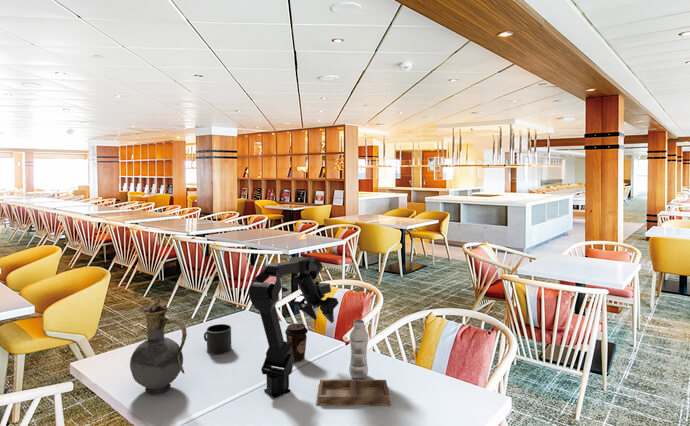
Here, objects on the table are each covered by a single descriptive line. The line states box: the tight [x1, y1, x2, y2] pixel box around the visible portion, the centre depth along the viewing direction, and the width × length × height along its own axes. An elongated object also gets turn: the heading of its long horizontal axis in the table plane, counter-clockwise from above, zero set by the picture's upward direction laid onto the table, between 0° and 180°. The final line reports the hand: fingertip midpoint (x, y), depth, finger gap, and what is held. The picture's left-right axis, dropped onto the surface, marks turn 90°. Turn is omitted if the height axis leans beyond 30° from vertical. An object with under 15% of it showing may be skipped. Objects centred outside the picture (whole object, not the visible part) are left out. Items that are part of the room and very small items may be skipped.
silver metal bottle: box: [348, 319, 369, 380], centre depth 148 cm, size 6×7×20 cm
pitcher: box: [129, 299, 188, 395], centre depth 139 cm, size 11×19×30 cm, turn 75°
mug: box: [203, 323, 232, 355], centre depth 172 cm, size 9×12×9 cm
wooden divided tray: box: [315, 379, 392, 407], centre depth 137 cm, size 23×12×2 cm, turn 90°
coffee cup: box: [284, 323, 309, 363], centre depth 163 cm, size 9×8×13 cm
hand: (324, 320), depth 161 cm, fingers open, 9 cm apart
